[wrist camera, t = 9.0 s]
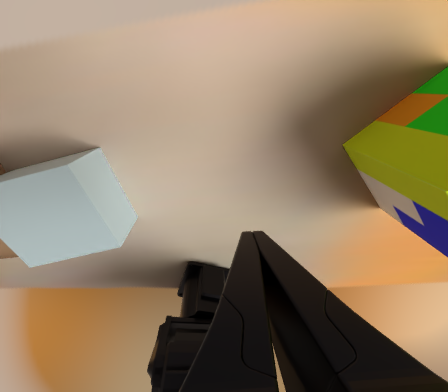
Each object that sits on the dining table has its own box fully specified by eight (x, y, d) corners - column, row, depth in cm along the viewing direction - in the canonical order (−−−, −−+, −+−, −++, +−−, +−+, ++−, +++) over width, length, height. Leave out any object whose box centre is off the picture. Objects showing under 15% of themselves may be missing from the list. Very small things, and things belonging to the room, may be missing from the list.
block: (138, 215, 23) (120, 247, 18) (64, 233, 23) (29, 267, 19) (101, 146, 19) (67, 164, 14) (13, 169, 19) (-45, 193, 15)
